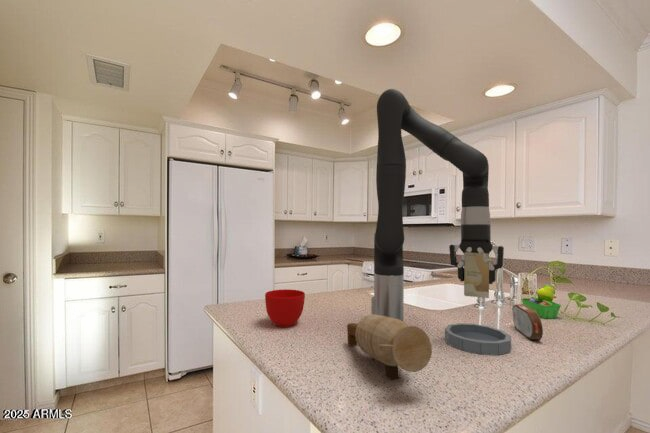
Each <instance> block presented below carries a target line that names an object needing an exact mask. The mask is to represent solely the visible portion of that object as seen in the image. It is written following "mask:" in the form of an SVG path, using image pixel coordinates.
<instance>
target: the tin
mask: <svg viewBox="0 0 650 433" xmlns="http://www.w3.org/2000/svg"><path fill="white" fill-rule="evenodd" d="M512 318H513V319H512V322H513V324H514V326H515V329H516V330H517V331H518V332H519V333H520V334H522V335H523V336H525V337H526V338H527V339H528V340H535V341H540V340H542V338H543V333H544V327H543V323H542V320H541V319H542V318H541V317H539V315H538V313H537V312H536V311H535V310H533V309H531V308H530V307H528V306H526V305H524V304H523V303H522V304H520V303H519V304H514V305H512Z"/></svg>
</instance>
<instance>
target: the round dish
mask: <svg viewBox="0 0 650 433" xmlns="http://www.w3.org/2000/svg"><path fill="white" fill-rule="evenodd" d="M444 340H445V341H446V342H447V344H448V345H449V346H451V347H454V348H456V349H458V350H460V351H463V352H467V353H473V354H477V355H483V356H484V355H485V356H487V355H488V356H501V355H505V354H506V355H507V354H510V353H511V350H512V335H510V333H507V332H506V331H505V330H502V329H499V328H495V327H492V326H489V325H483V324H476V323H466V322H465V323H463V322H462V323H461V322H458V323H457V322H456V323H453V324H452V323H451V324H448V325H447V326H446V327H444Z"/></svg>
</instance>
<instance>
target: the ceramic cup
mask: <svg viewBox="0 0 650 433" xmlns="http://www.w3.org/2000/svg"><path fill="white" fill-rule="evenodd" d="M305 297H306V296H305V291H303V290H298V289H287V288H285V289H273V290H269V291H267V292H265V293H264V300H265V302H264V303H265V308H266V314H267V316H268V318H269V319H270V321H271V322H272V323H273V325H274V326H276V327H279V328H289V327H292V326H295V325H296V323H297V322H298V320H299V319H300V317H302V313H303V310H304V307H305Z"/></svg>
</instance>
